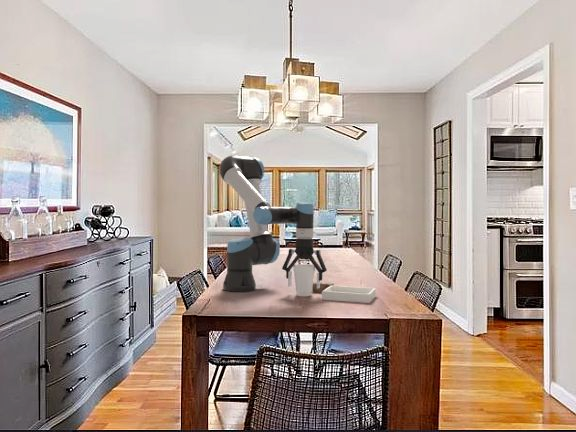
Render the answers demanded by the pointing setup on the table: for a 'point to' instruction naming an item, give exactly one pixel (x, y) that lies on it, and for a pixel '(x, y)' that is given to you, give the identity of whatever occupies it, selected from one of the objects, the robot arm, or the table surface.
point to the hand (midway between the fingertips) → (304, 287)
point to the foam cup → (304, 278)
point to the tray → (349, 294)
